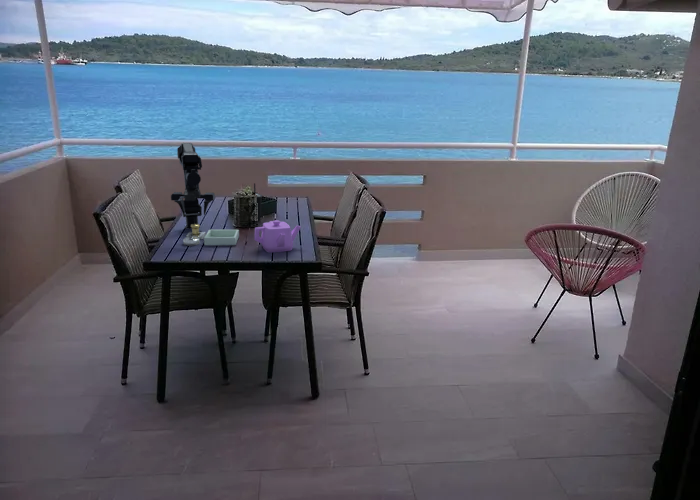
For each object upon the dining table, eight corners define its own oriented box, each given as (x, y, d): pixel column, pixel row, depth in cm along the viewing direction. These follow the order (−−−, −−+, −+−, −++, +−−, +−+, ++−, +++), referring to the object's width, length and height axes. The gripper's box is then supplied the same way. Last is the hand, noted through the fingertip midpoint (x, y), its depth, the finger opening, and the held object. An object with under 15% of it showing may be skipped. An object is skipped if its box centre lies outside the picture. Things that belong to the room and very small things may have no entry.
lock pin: (192, 236, 236) (191, 223, 234) (201, 236, 236) (200, 223, 235) (190, 238, 232) (189, 226, 230) (199, 238, 233) (198, 226, 231)
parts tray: (209, 236, 236) (209, 229, 235) (239, 236, 237) (238, 229, 236) (204, 245, 223) (204, 237, 222) (235, 245, 224) (235, 237, 223)
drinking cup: (248, 222, 263) (247, 185, 257) (247, 219, 270) (246, 182, 264) (263, 222, 265) (262, 184, 259) (262, 218, 272) (261, 182, 266)
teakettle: (270, 240, 234) (270, 214, 230) (302, 245, 228) (302, 219, 224) (250, 250, 219) (249, 222, 215) (283, 255, 213) (283, 227, 209)
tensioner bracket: (189, 234, 238) (189, 229, 237) (205, 234, 238) (205, 229, 238) (181, 245, 221) (180, 240, 220) (198, 245, 222) (198, 240, 221)
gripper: (166, 184, 218) (169, 218, 223) (210, 184, 220) (212, 219, 224) (172, 179, 228) (175, 212, 233) (214, 180, 230) (216, 213, 235)
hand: (194, 214), depth 231 cm, fingers open, 9 cm apart
